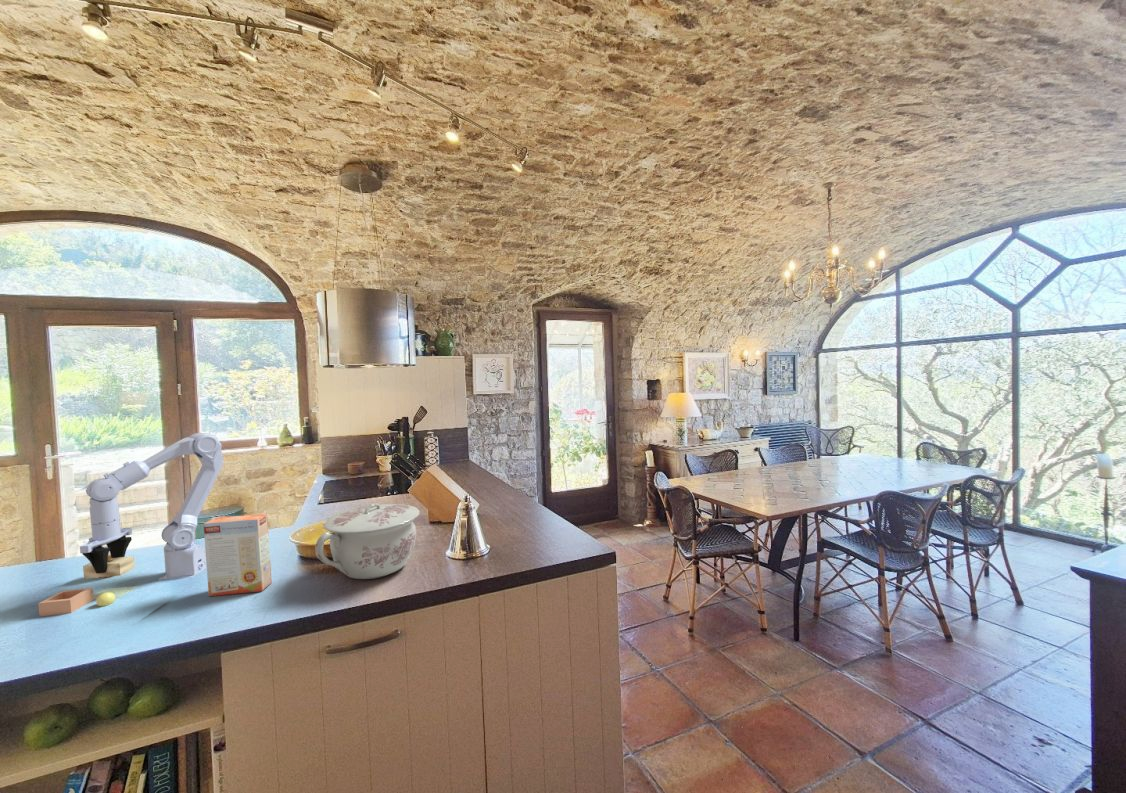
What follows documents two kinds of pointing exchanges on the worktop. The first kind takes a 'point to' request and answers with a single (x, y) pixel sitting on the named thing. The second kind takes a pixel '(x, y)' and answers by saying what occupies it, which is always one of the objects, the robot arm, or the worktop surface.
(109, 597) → the yellow ball
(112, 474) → the robot arm
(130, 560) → the lid
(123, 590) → the mat
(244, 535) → the cracker box
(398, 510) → the chamber pot
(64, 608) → the pink open box
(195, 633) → the worktop surface
